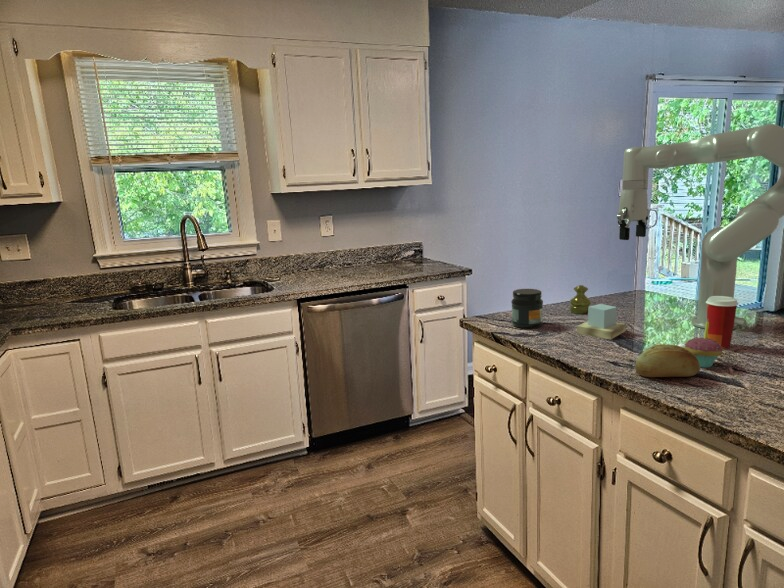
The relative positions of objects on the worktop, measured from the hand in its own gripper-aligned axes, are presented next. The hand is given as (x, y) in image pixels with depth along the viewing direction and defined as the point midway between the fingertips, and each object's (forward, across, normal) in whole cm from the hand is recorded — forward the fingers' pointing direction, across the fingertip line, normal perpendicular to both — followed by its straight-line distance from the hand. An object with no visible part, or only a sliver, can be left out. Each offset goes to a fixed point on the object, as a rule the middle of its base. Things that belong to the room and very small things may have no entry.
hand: (632, 238), depth 171 cm
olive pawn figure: (+29, +2, -18) cm, 34 cm away
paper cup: (+28, +8, +32) cm, 44 cm away
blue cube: (+26, +19, +2) cm, 32 cm away
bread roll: (+29, +40, +34) cm, 59 cm away
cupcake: (+28, +26, +36) cm, 53 cm away
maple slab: (+29, +19, +2) cm, 35 cm away
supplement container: (+29, +29, -20) cm, 45 cm away
